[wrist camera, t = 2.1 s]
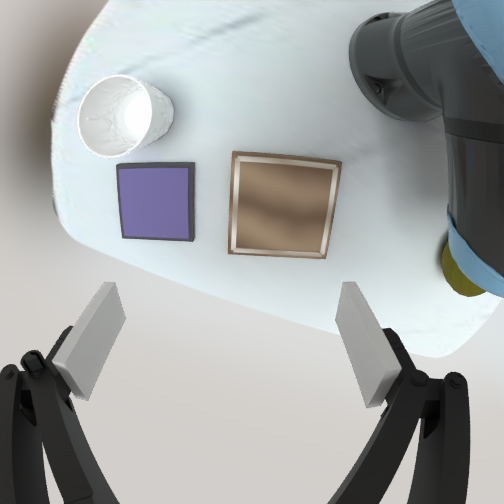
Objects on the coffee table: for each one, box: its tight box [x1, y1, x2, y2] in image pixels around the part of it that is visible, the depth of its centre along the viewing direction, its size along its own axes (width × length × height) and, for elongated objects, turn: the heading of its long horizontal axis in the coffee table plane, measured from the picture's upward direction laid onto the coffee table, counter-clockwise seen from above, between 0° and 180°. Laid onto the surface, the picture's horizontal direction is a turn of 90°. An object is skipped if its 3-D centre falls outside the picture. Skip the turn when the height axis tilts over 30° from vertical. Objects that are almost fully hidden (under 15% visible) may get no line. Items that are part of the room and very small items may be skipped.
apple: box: [441, 240, 486, 297], centre depth 33 cm, size 10×10×11 cm
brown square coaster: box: [228, 151, 342, 259], centre depth 34 cm, size 13×13×1 cm
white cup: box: [77, 74, 174, 158], centre depth 25 cm, size 8×8×10 cm
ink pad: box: [116, 162, 194, 242], centre depth 34 cm, size 10×10×1 cm
